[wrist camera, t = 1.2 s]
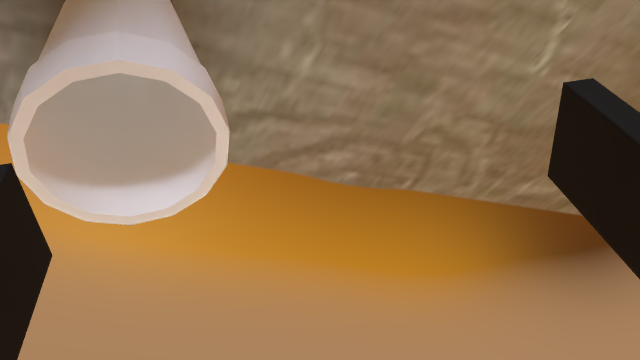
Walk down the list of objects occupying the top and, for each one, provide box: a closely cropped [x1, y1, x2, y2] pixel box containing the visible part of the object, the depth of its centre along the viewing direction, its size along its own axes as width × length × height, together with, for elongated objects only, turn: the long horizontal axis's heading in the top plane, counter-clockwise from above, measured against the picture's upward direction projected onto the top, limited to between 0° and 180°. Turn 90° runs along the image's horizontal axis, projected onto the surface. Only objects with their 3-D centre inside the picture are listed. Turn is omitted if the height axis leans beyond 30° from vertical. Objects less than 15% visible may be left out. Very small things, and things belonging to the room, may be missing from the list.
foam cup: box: [7, 0, 230, 225], centre depth 31 cm, size 10×9×13 cm
